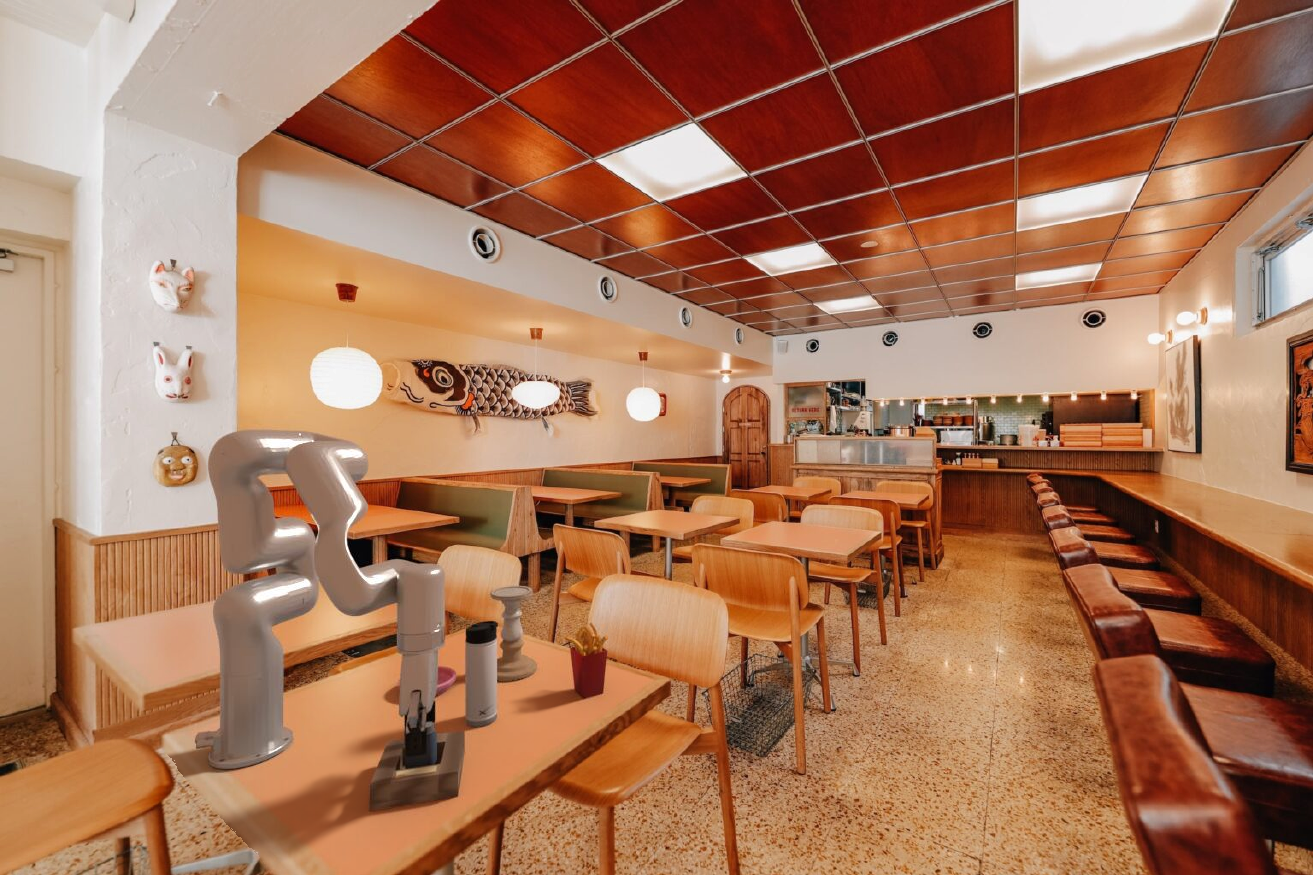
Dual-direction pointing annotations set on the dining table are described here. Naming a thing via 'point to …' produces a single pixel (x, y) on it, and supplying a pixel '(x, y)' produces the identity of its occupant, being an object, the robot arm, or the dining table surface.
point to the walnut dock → (417, 774)
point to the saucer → (443, 679)
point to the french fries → (588, 662)
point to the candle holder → (512, 635)
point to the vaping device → (431, 754)
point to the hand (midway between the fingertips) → (421, 738)
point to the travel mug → (481, 674)
